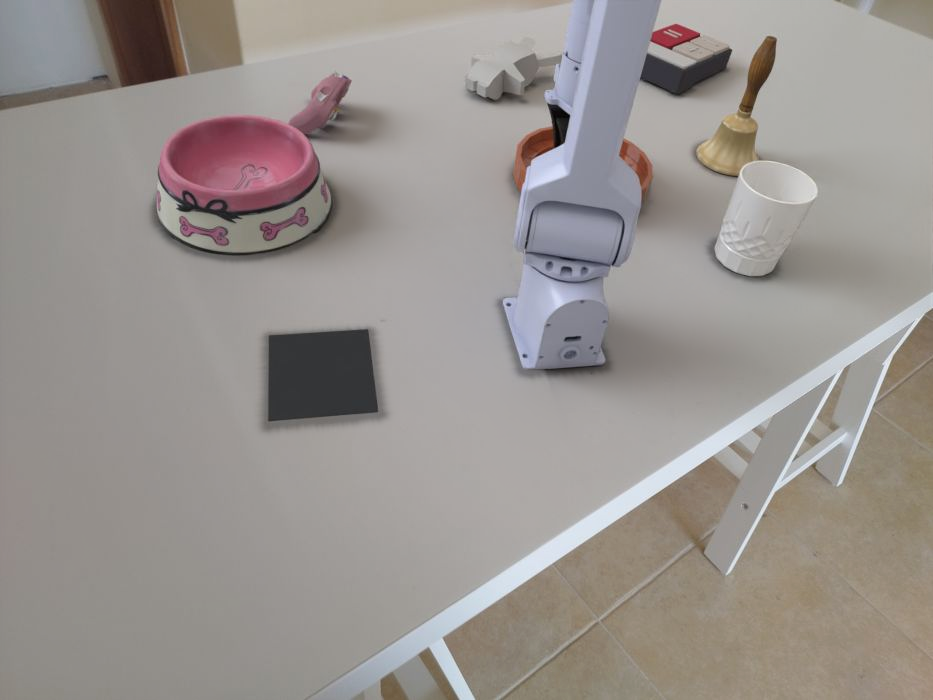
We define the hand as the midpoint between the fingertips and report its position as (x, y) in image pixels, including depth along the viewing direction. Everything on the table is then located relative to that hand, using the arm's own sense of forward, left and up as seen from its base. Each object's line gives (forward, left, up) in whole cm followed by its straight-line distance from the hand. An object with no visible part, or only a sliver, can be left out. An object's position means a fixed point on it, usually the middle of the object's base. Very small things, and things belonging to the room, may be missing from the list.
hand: (566, 168), depth 86 cm
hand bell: (+6, -25, -3) cm, 25 cm away
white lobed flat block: (+27, 0, -3) cm, 27 cm away
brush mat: (-27, +29, -3) cm, 40 cm away
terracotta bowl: (+1, -3, -3) cm, 4 cm away
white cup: (-14, -18, -3) cm, 23 cm away
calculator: (+32, -27, -1) cm, 42 cm away
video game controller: (+17, +28, -3) cm, 33 cm away
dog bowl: (-1, +36, -3) cm, 37 cm away
